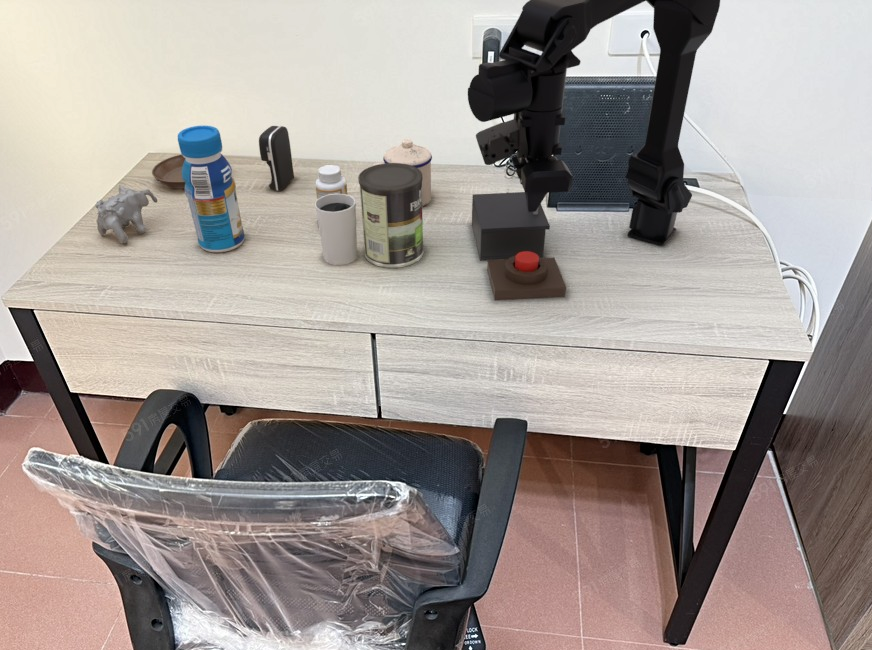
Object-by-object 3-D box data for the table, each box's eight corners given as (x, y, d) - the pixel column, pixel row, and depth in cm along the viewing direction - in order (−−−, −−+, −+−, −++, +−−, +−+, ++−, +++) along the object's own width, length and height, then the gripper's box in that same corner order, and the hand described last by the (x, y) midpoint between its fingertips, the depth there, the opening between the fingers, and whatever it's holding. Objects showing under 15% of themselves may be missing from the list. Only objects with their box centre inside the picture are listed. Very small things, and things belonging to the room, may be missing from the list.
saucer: (142, 179, 149) (138, 166, 147) (204, 157, 156) (201, 145, 154) (177, 201, 140) (173, 188, 138) (240, 177, 148) (238, 165, 146)
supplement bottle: (334, 211, 134) (329, 160, 128) (356, 220, 132) (351, 167, 125) (313, 223, 131) (307, 170, 125) (335, 232, 128) (329, 178, 122)
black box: (529, 222, 129) (532, 195, 125) (542, 258, 119) (545, 229, 116) (471, 225, 129) (472, 198, 125) (479, 261, 119) (481, 233, 116)
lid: (535, 195, 125) (537, 170, 122) (549, 229, 116) (552, 204, 113) (472, 198, 125) (473, 173, 122) (481, 232, 116) (482, 207, 113)
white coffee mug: (342, 242, 125) (337, 189, 119) (367, 255, 122) (363, 202, 115) (313, 256, 122) (306, 203, 115) (338, 270, 118) (332, 216, 112)
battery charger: (279, 176, 147) (270, 121, 140) (295, 178, 146) (287, 123, 139) (263, 190, 142) (254, 135, 135) (281, 192, 141) (272, 136, 134)
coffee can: (428, 240, 125) (427, 163, 116) (417, 270, 117) (416, 191, 108) (371, 236, 127) (366, 160, 118) (357, 265, 119) (350, 187, 110)
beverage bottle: (189, 243, 127) (160, 134, 114) (227, 226, 131) (204, 118, 118) (216, 259, 122) (190, 147, 109) (255, 240, 127) (235, 130, 114)
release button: (535, 260, 113) (536, 250, 112) (539, 272, 110) (540, 262, 109) (513, 261, 113) (513, 251, 112) (516, 273, 110) (517, 263, 109)
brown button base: (553, 267, 117) (555, 248, 115) (565, 297, 110) (567, 278, 108) (487, 270, 117) (487, 251, 114) (494, 301, 110) (495, 281, 108)
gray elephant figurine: (91, 242, 128) (77, 203, 123) (129, 212, 137) (117, 174, 132) (135, 248, 126) (123, 208, 121) (171, 217, 135) (161, 179, 130)
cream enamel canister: (434, 189, 140) (433, 131, 133) (430, 211, 133) (429, 151, 126) (374, 188, 142) (370, 131, 134) (367, 209, 135) (363, 150, 127)
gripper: (473, 84, 102) (470, 186, 112) (490, 134, 88) (485, 244, 98) (550, 81, 102) (540, 182, 112) (580, 129, 88) (565, 240, 98)
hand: (531, 210), depth 105 cm, fingers closed
